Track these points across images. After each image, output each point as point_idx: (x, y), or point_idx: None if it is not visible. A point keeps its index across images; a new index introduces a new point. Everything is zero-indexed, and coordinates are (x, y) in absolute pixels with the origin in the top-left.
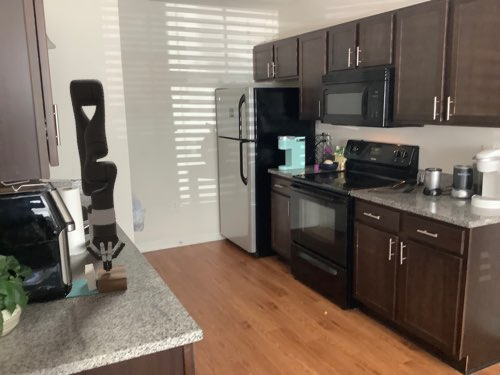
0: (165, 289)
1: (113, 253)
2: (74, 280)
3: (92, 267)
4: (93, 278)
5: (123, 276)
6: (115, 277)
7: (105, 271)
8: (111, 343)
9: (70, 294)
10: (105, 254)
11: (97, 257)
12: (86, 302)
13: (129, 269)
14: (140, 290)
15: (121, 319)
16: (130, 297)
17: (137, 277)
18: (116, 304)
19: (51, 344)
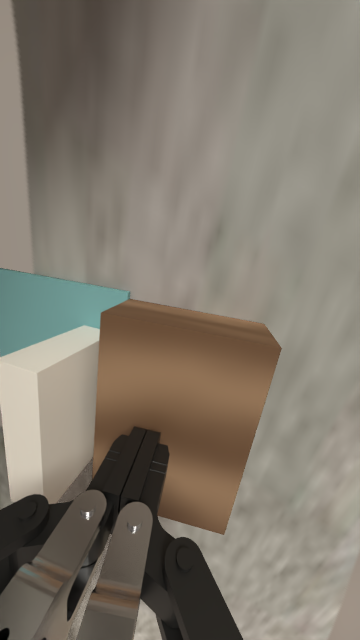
0: (353, 561)
1: (167, 584)
2: (21, 273)
3: (40, 448)
4: (70, 480)
5: (213, 519)
6: (174, 506)
7: (140, 402)
8: None
9: None
10: (68, 628)
11: (10, 576)
12: (75, 490)
13: (328, 234)
14: (262, 515)
15: (153, 617)
16: (210, 539)
17: (312, 388)
18: None
19: None
